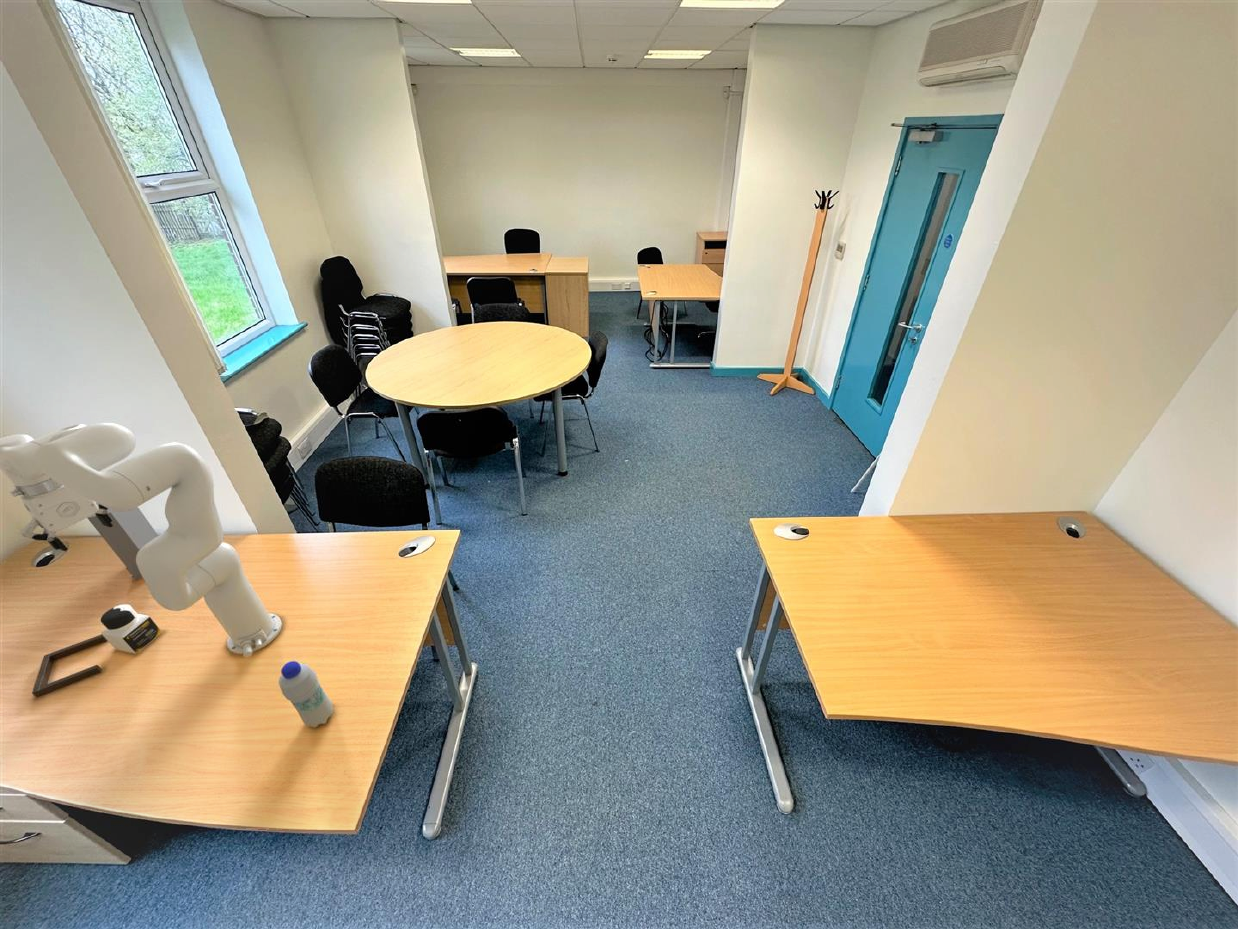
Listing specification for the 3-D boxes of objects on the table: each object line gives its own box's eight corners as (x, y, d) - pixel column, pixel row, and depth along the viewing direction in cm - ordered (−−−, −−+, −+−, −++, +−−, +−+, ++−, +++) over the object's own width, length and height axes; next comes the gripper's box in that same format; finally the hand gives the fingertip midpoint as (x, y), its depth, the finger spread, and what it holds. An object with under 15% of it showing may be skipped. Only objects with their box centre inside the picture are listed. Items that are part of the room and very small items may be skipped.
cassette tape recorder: (144, 553, 160) (98, 493, 146) (167, 547, 162) (124, 487, 148) (133, 581, 149) (83, 519, 136) (157, 574, 152) (111, 512, 138)
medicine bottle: (137, 654, 128) (110, 625, 121) (115, 650, 129) (88, 620, 122) (163, 632, 134) (139, 603, 127) (142, 628, 135) (117, 599, 128)
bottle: (328, 697, 118) (298, 647, 107) (341, 714, 114) (311, 664, 103) (299, 718, 113) (264, 668, 102) (312, 737, 110) (277, 687, 99)
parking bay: (101, 672, 123) (96, 667, 122) (37, 698, 118) (31, 693, 117) (108, 637, 132) (104, 633, 131) (48, 660, 126) (43, 655, 125)
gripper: (2, 508, 108) (52, 563, 117) (95, 468, 121) (133, 520, 131) (-16, 501, 110) (35, 555, 120) (77, 462, 124) (116, 514, 133)
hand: (86, 537), depth 125 cm, fingers open, 9 cm apart
